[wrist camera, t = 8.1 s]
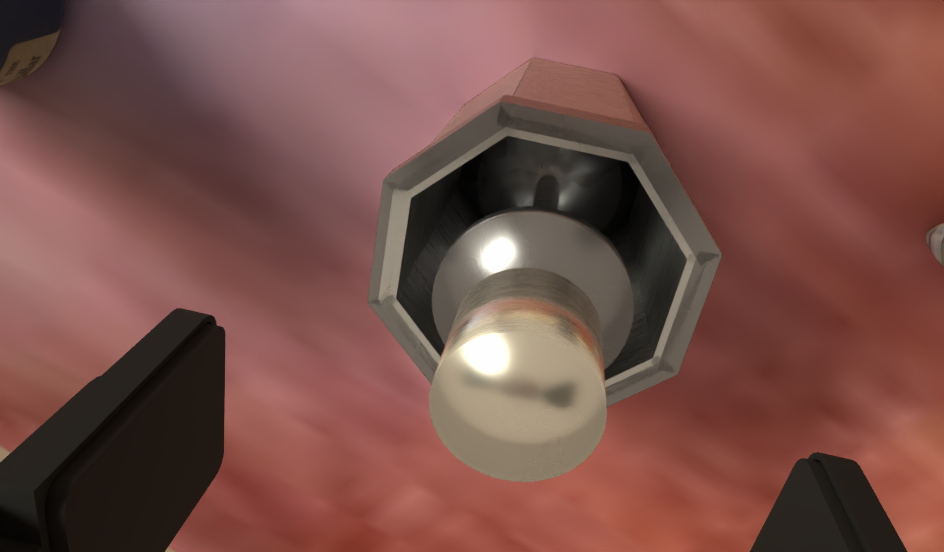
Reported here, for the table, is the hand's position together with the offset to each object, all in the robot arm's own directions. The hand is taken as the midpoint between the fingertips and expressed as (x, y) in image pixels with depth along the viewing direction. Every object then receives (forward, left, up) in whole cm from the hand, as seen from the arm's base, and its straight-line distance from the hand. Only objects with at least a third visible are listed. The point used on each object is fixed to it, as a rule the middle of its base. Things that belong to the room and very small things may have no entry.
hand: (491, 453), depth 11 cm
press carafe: (+2, 0, -20) cm, 20 cm away
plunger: (+1, 0, -18) cm, 18 cm away
